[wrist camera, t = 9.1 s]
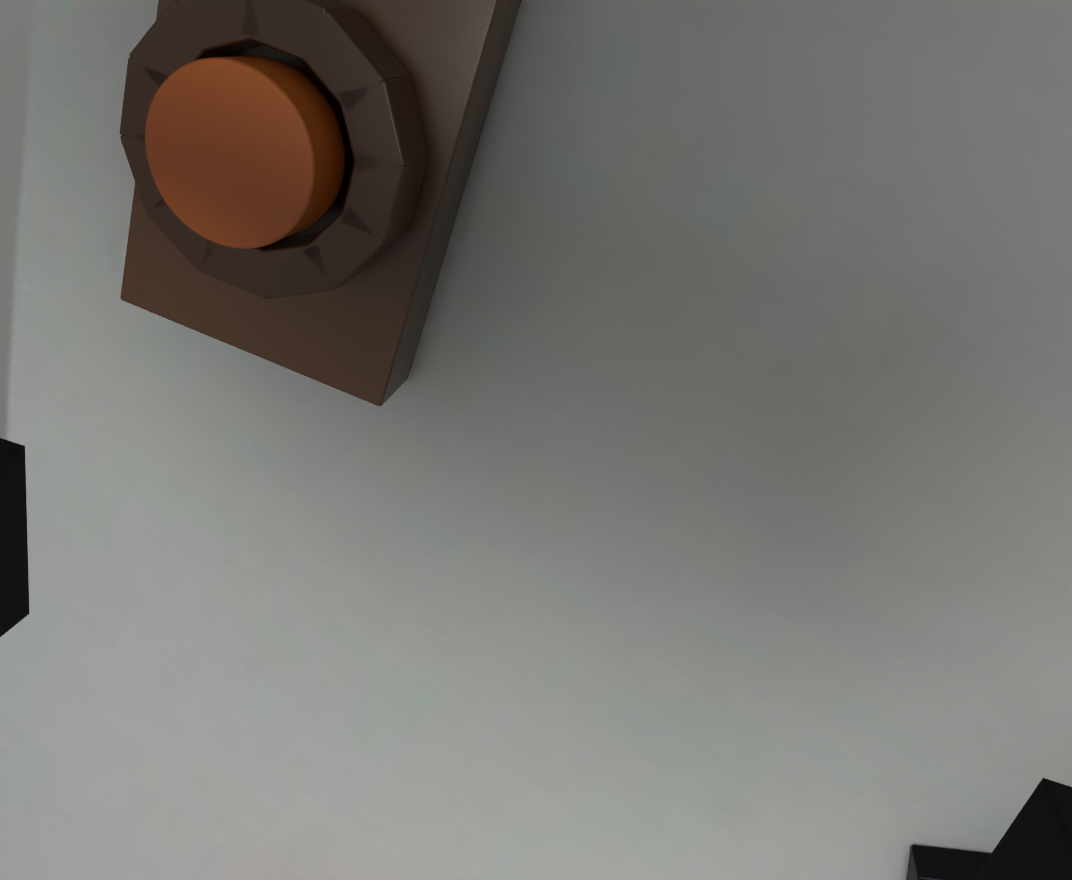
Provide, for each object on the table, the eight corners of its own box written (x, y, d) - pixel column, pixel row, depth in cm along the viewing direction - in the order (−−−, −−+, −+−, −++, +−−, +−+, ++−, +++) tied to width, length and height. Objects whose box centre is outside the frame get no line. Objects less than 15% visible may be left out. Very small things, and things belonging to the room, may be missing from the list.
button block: (232, -171, 22) (132, -212, 18) (537, -53, 21) (496, -71, 18) (164, 280, 27) (76, 318, 24) (407, 380, 27) (355, 433, 23)
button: (201, 29, 20) (157, 28, 19) (363, 94, 20) (332, 98, 19) (176, 198, 22) (133, 210, 20) (325, 259, 22) (293, 276, 20)
